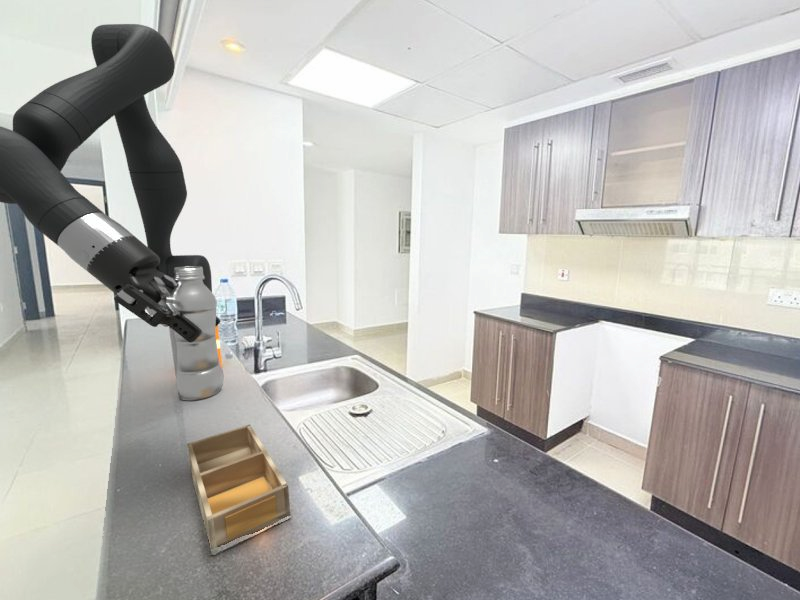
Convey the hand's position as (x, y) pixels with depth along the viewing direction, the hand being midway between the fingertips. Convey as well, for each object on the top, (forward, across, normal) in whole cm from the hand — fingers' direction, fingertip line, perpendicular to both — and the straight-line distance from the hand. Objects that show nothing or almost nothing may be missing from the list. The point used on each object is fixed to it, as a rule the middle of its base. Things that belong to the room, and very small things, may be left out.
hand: (207, 331), depth 54 cm
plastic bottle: (+6, 0, +9) cm, 11 cm away
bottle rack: (+19, -5, +14) cm, 25 cm away
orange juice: (0, +48, +33) cm, 58 cm away
